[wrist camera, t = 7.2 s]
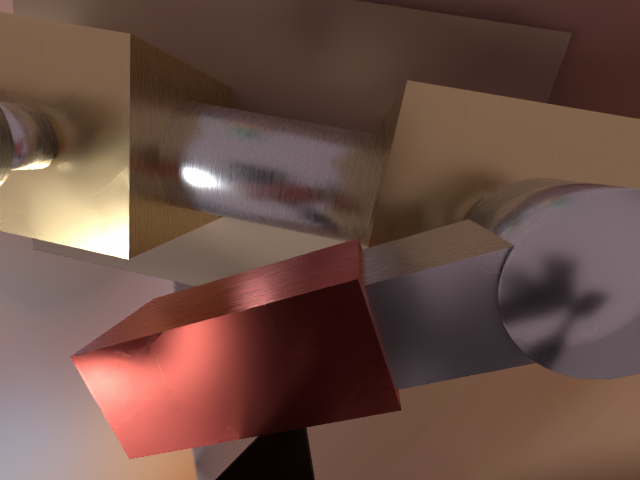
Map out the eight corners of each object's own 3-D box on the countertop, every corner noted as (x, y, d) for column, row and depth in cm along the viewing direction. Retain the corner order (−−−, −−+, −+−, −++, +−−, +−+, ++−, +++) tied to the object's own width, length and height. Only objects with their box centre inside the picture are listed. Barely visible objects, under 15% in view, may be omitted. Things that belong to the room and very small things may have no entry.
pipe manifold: (482, 272, 14) (733, 512, 4) (8, 174, 15) (-525, 203, 6) (528, 140, 12) (1060, 90, 3) (-5, 46, 14) (-746, -178, 5)
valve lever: (591, 157, 5) (737, 158, 3) (611, 289, 6) (745, 361, 4) (149, 291, 7) (64, 346, 5) (195, 383, 8) (134, 467, 6)
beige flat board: (452, 328, 16) (461, 345, 15) (60, 241, 18) (33, 249, 16) (548, 47, 13) (572, 32, 11) (44, -32, 14) (8, -53, 13)
